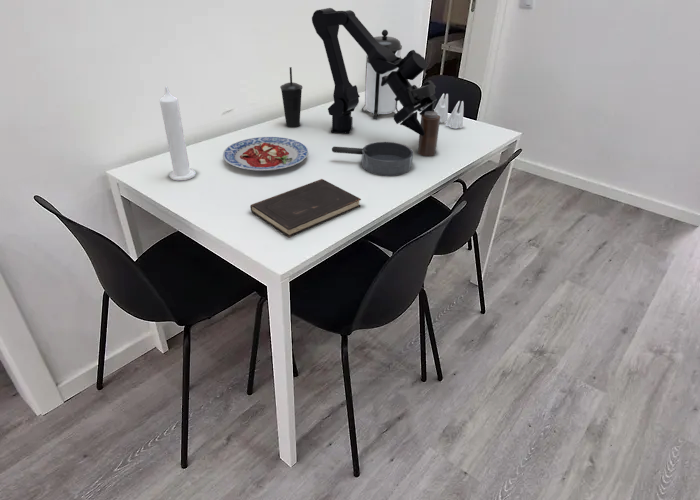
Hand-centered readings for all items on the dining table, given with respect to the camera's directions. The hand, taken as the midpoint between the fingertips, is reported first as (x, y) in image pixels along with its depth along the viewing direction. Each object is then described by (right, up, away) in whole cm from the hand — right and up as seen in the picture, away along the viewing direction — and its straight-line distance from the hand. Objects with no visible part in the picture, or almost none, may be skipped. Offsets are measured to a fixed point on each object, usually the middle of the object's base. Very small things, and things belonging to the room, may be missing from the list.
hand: (430, 130), depth 152 cm
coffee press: (-14, +16, +37) cm, 43 cm away
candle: (-73, -16, -13) cm, 76 cm away
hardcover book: (-36, -27, -28) cm, 53 cm away
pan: (-14, -11, -4) cm, 19 cm away
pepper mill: (-1, -6, +4) cm, 7 cm away
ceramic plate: (-51, -9, -2) cm, 52 cm away
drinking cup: (-46, +8, +23) cm, 52 cm away
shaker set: (+10, +9, +27) cm, 30 cm away
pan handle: (-25, -8, -5) cm, 27 cm away
